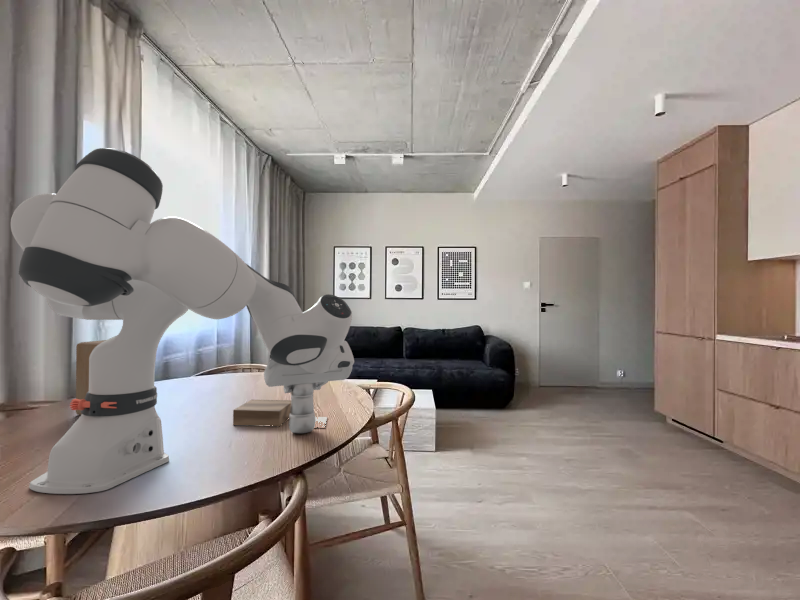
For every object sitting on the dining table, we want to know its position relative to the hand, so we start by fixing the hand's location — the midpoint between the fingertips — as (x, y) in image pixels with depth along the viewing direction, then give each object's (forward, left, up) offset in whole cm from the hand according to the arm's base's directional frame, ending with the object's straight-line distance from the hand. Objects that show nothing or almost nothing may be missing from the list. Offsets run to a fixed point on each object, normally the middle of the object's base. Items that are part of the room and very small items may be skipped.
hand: (301, 389), depth 109 cm
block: (+12, +60, -11) cm, 62 cm away
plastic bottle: (-1, 0, -11) cm, 11 cm away
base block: (+9, +13, -10) cm, 19 cm away
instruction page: (+7, 0, -10) cm, 13 cm away
